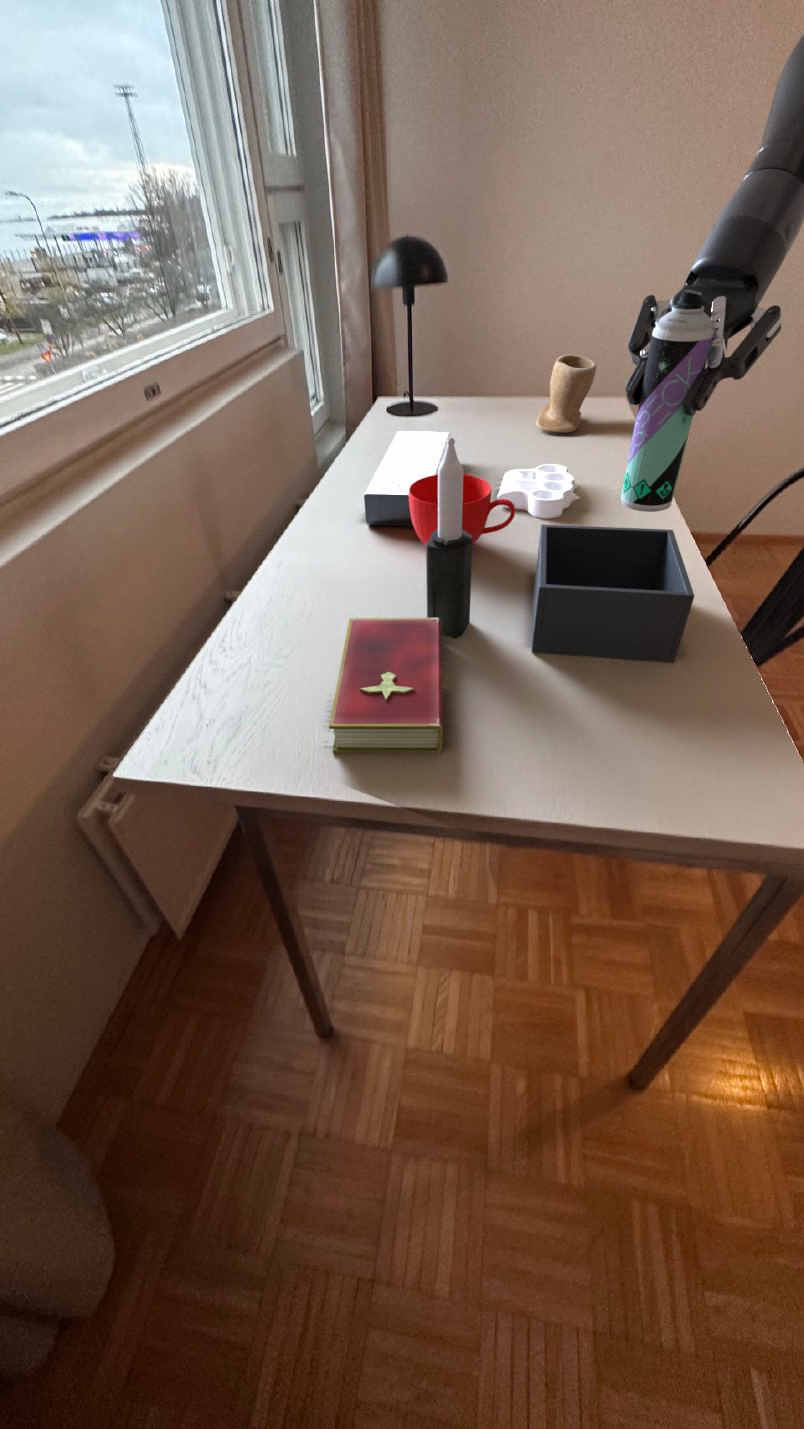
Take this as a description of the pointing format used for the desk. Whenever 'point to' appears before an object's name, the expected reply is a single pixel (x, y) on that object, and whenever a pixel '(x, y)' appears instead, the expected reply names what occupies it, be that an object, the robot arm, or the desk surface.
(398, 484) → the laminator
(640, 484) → the spray can
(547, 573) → the bin
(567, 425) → the stone cup
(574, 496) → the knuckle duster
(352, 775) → the desk surface
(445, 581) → the candle
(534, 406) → the desk surface
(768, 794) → the desk surface
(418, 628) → the hardcover book
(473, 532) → the ceramic cup
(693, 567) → the desk surface
